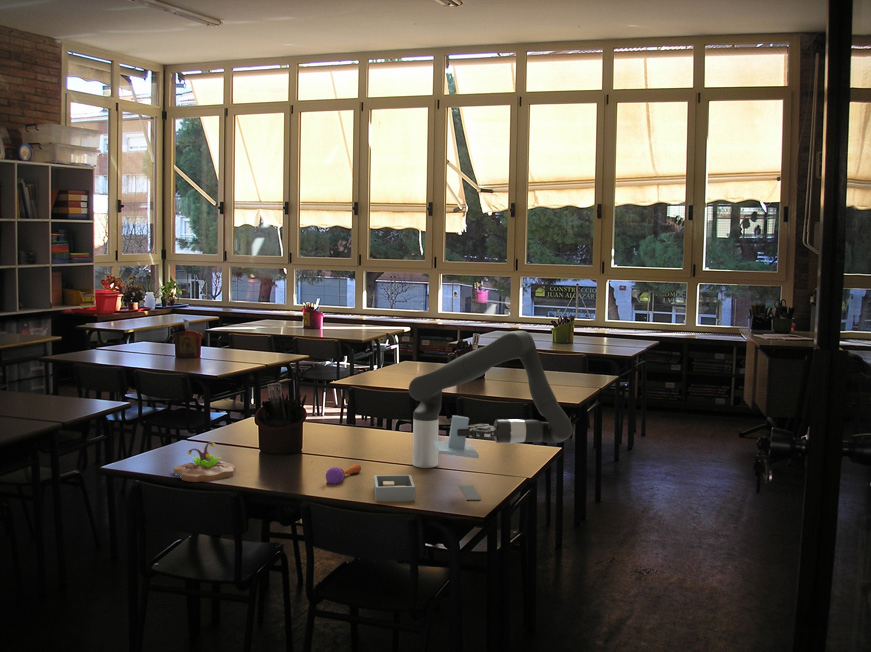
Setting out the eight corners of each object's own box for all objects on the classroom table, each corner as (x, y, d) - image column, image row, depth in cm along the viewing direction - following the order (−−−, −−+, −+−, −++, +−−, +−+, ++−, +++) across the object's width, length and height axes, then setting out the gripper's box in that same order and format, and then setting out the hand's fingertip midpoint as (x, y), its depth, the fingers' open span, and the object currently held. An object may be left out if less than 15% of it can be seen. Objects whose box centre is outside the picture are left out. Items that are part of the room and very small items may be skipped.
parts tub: (373, 490, 259) (374, 475, 259) (410, 489, 261) (411, 474, 260) (375, 503, 246) (375, 487, 245) (414, 502, 247) (414, 486, 247)
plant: (244, 477, 274) (244, 445, 273) (187, 485, 263) (187, 451, 262) (223, 464, 291) (223, 434, 290) (169, 471, 279) (168, 440, 279)
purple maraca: (366, 462, 281) (340, 471, 262) (362, 478, 281) (336, 489, 262) (351, 457, 283) (324, 466, 264) (347, 473, 283) (320, 483, 264)
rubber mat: (431, 487, 265) (431, 485, 265) (472, 486, 266) (472, 485, 266) (436, 501, 249) (436, 500, 249) (481, 500, 250) (481, 499, 250)
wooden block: (382, 490, 258) (382, 481, 257) (393, 490, 258) (393, 481, 258) (383, 493, 254) (383, 484, 254) (394, 493, 254) (394, 484, 254)
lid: (433, 443, 263) (438, 410, 262) (471, 447, 264) (476, 415, 264) (438, 453, 248) (444, 418, 248) (478, 458, 250) (483, 423, 249)
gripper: (505, 415, 265) (453, 416, 263) (514, 423, 251) (460, 424, 249) (505, 437, 265) (453, 438, 263) (514, 447, 251) (459, 448, 249)
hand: (457, 431), depth 256 cm, fingers closed on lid, 2 cm apart
